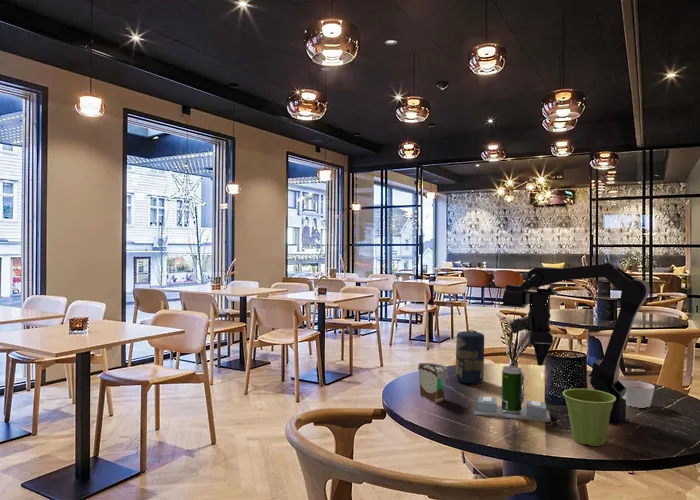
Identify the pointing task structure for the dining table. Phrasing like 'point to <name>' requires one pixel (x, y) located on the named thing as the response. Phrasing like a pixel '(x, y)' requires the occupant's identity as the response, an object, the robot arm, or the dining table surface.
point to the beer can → (511, 389)
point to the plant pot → (589, 414)
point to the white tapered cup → (638, 393)
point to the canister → (470, 357)
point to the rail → (512, 414)
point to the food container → (432, 381)
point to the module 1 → (487, 404)
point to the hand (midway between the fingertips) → (538, 361)
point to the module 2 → (535, 408)
